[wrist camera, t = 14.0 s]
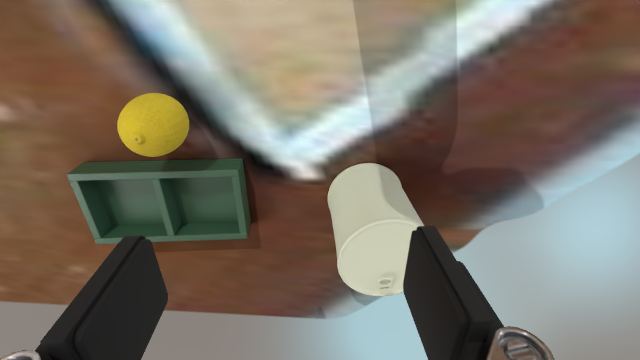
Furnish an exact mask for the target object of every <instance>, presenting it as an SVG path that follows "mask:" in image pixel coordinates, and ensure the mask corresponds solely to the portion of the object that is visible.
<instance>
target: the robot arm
mask: <svg viewBox="0 0 640 360" xmlns="http://www.w3.org/2000/svg"><path fill="white" fill-rule="evenodd" d="M403 291H404V295H405V297H406V300H407V303H408V306H409V308H410V311H411V314H412V317H413V319H414V322H415V325H416V327H417V330H418V333H419V336H420V338H421V341H422V343H423V346H424V349H425V352H426V355H427V357H428V360H554V357H553V355H552V353H551V351H550V350H549V349H548V347H547V346H546V345H545V344H544V343H543V342H542V341H541V340H540V339H538V338H537V337H536V336H535V335H533V334H531V333H530V332H528V331H526V330H523V329H520V328H517V327H510V326H509V327H504V326H503V324H502V323H501V321H500V320H499V318H498V317H497V315H496V313H495V312H494V310H493V309H492V307H491V306H490V304H489V303H488V301H487V300H486V298H485V297H484V295H483V294H482V292H481V291H480V289H479V287H478V286H477V284H476V283H475V281H474V280H473V278H472V276H471V275H470V273H469V272H468V270H467V269H466V267H465V266H464V265H463V263H461V262H460V261H456V259H455V257H454V256H453V254H452V253H451V251H450V249H449V248H448V246H447V245H446V243H445V241H444V240H443V238H442V237H441V235H440V233H439V232H438V230H437V229H436V227H435V226H418V227H417V229H416V230H413V231H412V234H411V239H410V245H409V251H408V257H407V263H406V269H405V275H404V281H403ZM167 300H168V293H167V290H166V287H165V284H164V281H163V277H162V274H161V271H160V268H159V265H158V262H157V259H156V256H155V252H154V249H153V246H152V243H151V241H150V240H149V239H146V237H145V236H143V235H138V236H125V237H123V238H122V239H121V241H120V242H119V243H118V244H117V246H116V247H115V248H114V249H113V251H112V252H111V253H110V255H109V256H108V257H107V258H106V260H105V261H104V262H103V263H102V265H101V266H100V267H99V268H98V270H97V271H96V272H95V273H94V275H93V276H92V277H91V278H90V280H89V281H88V282H87V284H86V285H85V286H84V287H83V289H82V290H81V291H80V292H79V294H78V295H77V296H76V297H75V299H74V300H73V301H72V302H71V304H70V305H69V306H68V307H67V309H66V310H65V311H64V313H63V314H62V315H61V317H60V318H59V319H58V320H57V321H56V323H55V324H54V325H53V326H52V328H51V329H50V330H49V331H48V333H47V334H46V335H45V336H44V338H43V339H42V340H41V344H40V345H39V346H38V347H37V349H36V350H35V351H33V350H22V351H18V352H14V353H11V354H9V355H6V356H4V357H2V358H0V360H141V358H142V356H143V354H144V352H145V349H146V347H147V345H148V343H149V341H150V339H151V336H152V334H153V332H154V330H155V328H156V326H157V323H158V321H159V319H160V317H161V315H162V313H163V311H164V308H165V306H166V304H167Z"/></svg>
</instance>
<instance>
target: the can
mask: <svg viewBox="0 0 640 360" xmlns="http://www.w3.org/2000/svg"><path fill="white" fill-rule="evenodd" d="M328 205H329V209H330V211H331V216H332V223H333V229H334V236H335V243H336V251H337V266H338V271H339V274H340V276H341V278H342V279H343V281H344V282H345V283H346V284H347V285H348V286H349V287H351V288H352V289H354V290H355V291H357V292H360V293H363V294H366V295H371V296H388V295H394V294H398V293H401V292H404V291H403V281H404V275H405V269H406V263H407V257H408V251H409V245H410V239H411V234H412V231H413V230H416V229H417V227H418V226H424V225H423V223H422V221H421V220H420V218H419V216H418V215H417V213H416V211H415V210H414V208H413V206H412V204H411V203H410V201H409V199H408V197H407V196H406V194H405V192H404V190H403V189H402V186H401V183H400V180H399V179H398V177H397V176H396V175H395V173H394V172H392V171H391V170H390V169H388V168H387V167H384V166H382V165H379V164H374V163H363V164H357V165H354V166H352V167H349V168H347V169H346V170H344V171H343V172H341V173H340V174H339V175H338V176H337V177H336V178H335V179H334V181H333V182H332V184H331V186H330V188H329V192H328Z"/></svg>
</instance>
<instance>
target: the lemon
mask: <svg viewBox="0 0 640 360" xmlns="http://www.w3.org/2000/svg"><path fill="white" fill-rule="evenodd" d="M188 131H189V118H188V115H187V112H186V111H185V109H184V107H183V106H182V105H181V104H180V103H179V102H178V101H177V100H175V99H174V98H172V97H170V96H167V95H164V94H159V93H148V94H144V95H141V96H138V97H136V98H134V99H133V100H132V101H130V102H129V103H128V104H127V105H126V106H125V107H124V109H123V110H122V111H121V113H120V116H119V119H118V132H119V136H120V138H121V140H122V141H123V143H124V144H125V145H126V146H127V147H128V148H129V149H131V150H132V151H133V152H135V153H137V154H140V155H144V156H150V157H156V156H162V155H165V154H167V153H170V152H172V151H174V150H175V149H177V148H178V147H179V146H180V145H181V144H182V143H183V142H184V140H185V138H186V137H187V134H188Z"/></svg>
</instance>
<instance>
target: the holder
mask: <svg viewBox="0 0 640 360" xmlns="http://www.w3.org/2000/svg"><path fill="white" fill-rule="evenodd" d="M67 177H68V179H69V181H70V184H71V186H72V188H73V191H74V193H75V195H76V198H77V200H78V202H79V205H80V207H81V209H82V212H83V214H84V216H85V219H86V221H87V223H88V226H89V228H90V230H91V233H92V235H93V237H94V240H95V242H96V244H113V243H119V242H120V241H121V239H122V238H123V237H125V236H138V235H143V236H145V237H146V239H149V240H150V241H151V242H168V241H196V240H223V239H247V238H248V234H249V230H250V226H251V220H250V212H249V204H248V196H247V189H246V181H245V173H244V166H243V159H242V158H239V159H198V160H157V161H117V162H84V163H82V164H81V165H79V166H78V167H77V168H75V169H74V170H72V171H71V172H69V173H68V174H67Z"/></svg>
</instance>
